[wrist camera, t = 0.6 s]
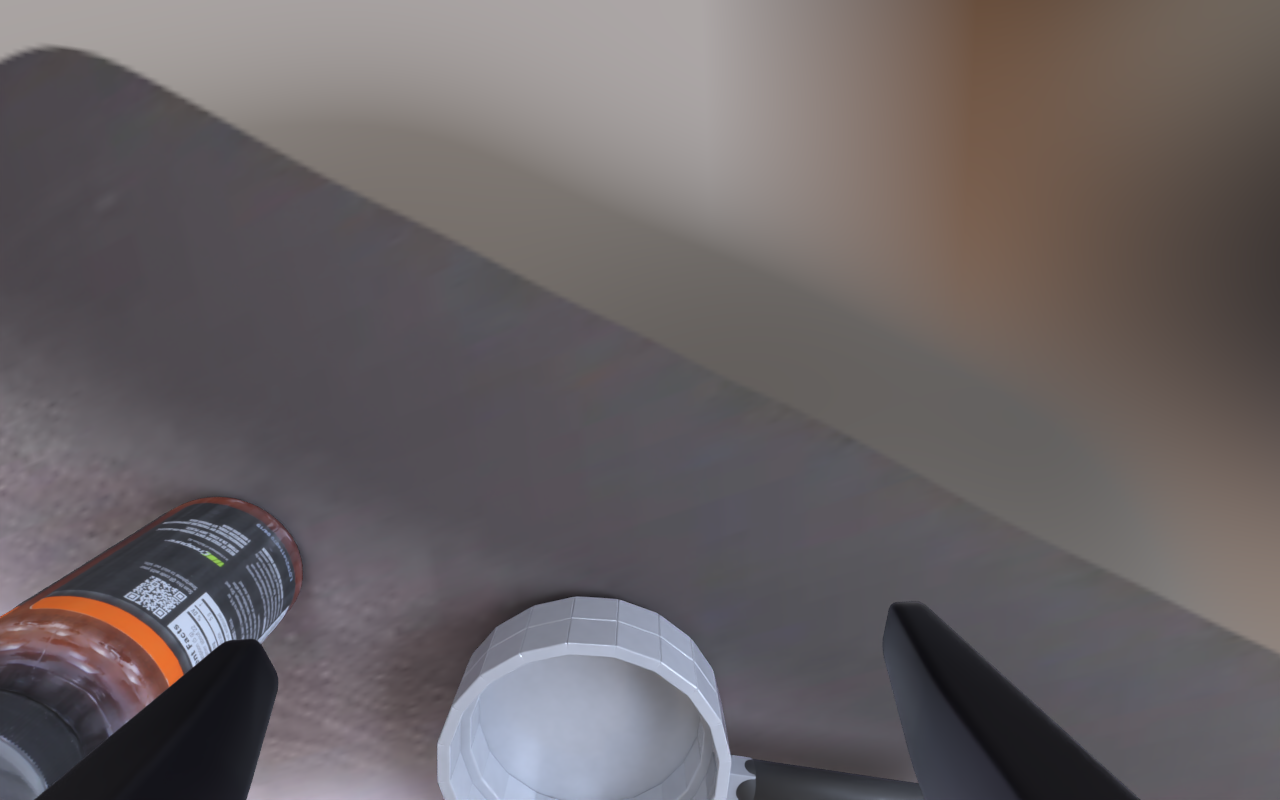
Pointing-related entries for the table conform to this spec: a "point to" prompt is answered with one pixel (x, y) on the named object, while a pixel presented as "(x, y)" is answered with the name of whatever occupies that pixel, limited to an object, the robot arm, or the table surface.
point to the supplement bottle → (134, 630)
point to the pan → (585, 710)
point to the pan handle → (805, 783)
